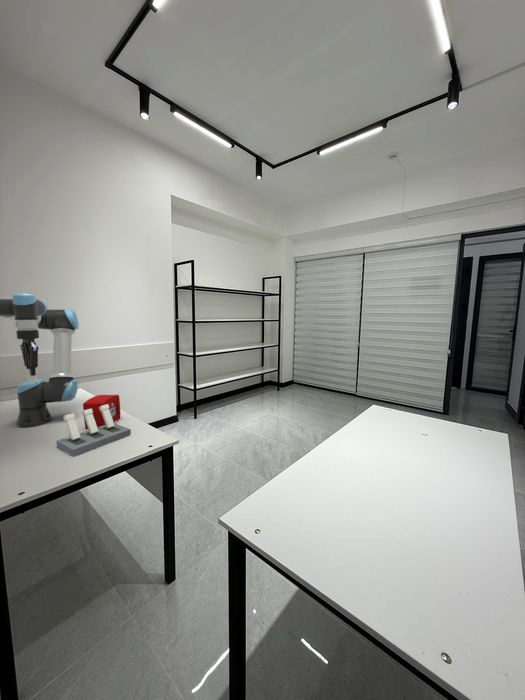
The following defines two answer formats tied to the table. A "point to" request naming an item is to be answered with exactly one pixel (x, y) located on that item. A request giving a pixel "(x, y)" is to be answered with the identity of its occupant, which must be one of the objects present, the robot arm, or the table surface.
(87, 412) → the handle
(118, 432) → the breaker panel
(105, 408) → the handle
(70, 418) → the handle
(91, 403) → the fire alarm
